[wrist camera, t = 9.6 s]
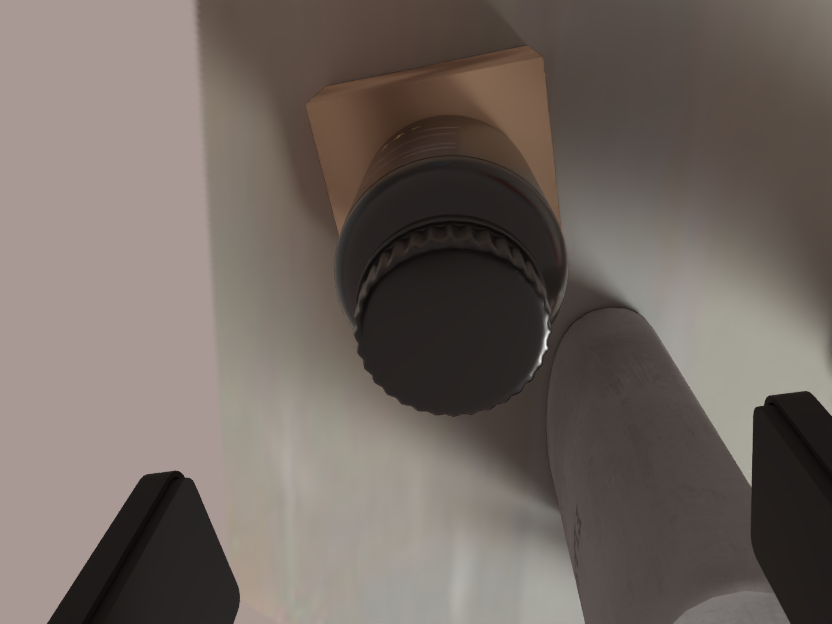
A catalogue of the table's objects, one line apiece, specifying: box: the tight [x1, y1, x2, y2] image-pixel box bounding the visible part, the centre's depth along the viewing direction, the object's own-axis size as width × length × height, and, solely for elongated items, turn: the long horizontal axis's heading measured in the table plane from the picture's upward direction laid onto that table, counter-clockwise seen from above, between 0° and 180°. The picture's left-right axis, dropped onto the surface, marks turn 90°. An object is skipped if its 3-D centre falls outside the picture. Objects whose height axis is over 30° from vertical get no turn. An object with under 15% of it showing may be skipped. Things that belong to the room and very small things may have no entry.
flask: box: [546, 307, 790, 624], centre depth 28 cm, size 15×6×20 cm, turn 7°
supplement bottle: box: [334, 115, 568, 416], centre depth 21 cm, size 7×7×12 cm
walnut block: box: [305, 46, 561, 236], centre depth 29 cm, size 9×9×5 cm
